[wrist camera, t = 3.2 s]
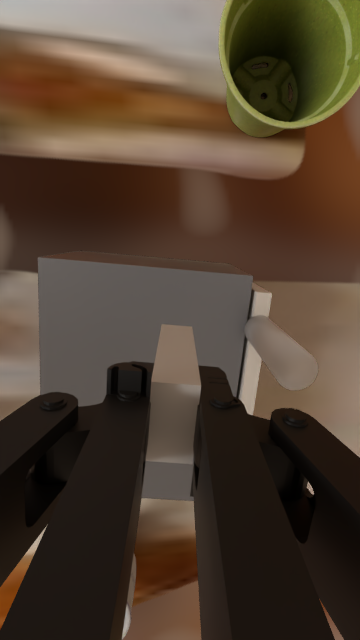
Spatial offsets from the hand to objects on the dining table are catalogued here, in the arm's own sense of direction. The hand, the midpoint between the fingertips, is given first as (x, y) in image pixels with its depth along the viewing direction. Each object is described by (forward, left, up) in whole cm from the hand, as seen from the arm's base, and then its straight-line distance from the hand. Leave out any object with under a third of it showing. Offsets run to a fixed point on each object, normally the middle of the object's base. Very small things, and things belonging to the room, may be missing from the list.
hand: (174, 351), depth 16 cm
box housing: (-2, -6, -16) cm, 17 cm away
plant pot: (+6, +17, -16) cm, 25 cm away
